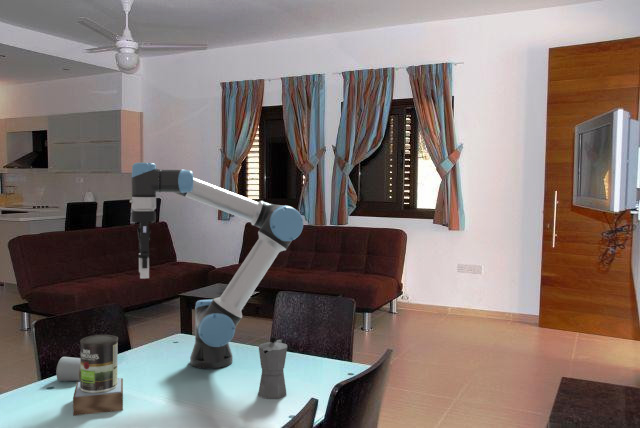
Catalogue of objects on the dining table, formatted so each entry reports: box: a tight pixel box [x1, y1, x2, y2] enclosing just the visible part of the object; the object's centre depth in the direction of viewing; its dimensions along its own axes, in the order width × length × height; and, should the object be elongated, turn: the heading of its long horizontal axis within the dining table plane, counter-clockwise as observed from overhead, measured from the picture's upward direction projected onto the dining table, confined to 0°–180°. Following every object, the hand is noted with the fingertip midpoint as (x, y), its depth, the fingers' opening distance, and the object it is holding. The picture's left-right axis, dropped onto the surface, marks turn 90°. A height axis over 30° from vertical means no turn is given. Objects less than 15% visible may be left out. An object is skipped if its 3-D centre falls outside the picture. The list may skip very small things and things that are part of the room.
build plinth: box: [72, 377, 124, 416], centre depth 164 cm, size 13×13×5 cm
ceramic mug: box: [55, 356, 81, 382], centre depth 186 cm, size 11×8×8 cm
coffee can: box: [79, 334, 119, 393], centre depth 163 cm, size 10×10×14 cm
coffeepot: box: [258, 336, 288, 400], centre depth 175 cm, size 15×9×18 cm, turn 162°
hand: (143, 275), depth 184 cm, fingers open, 13 cm apart
